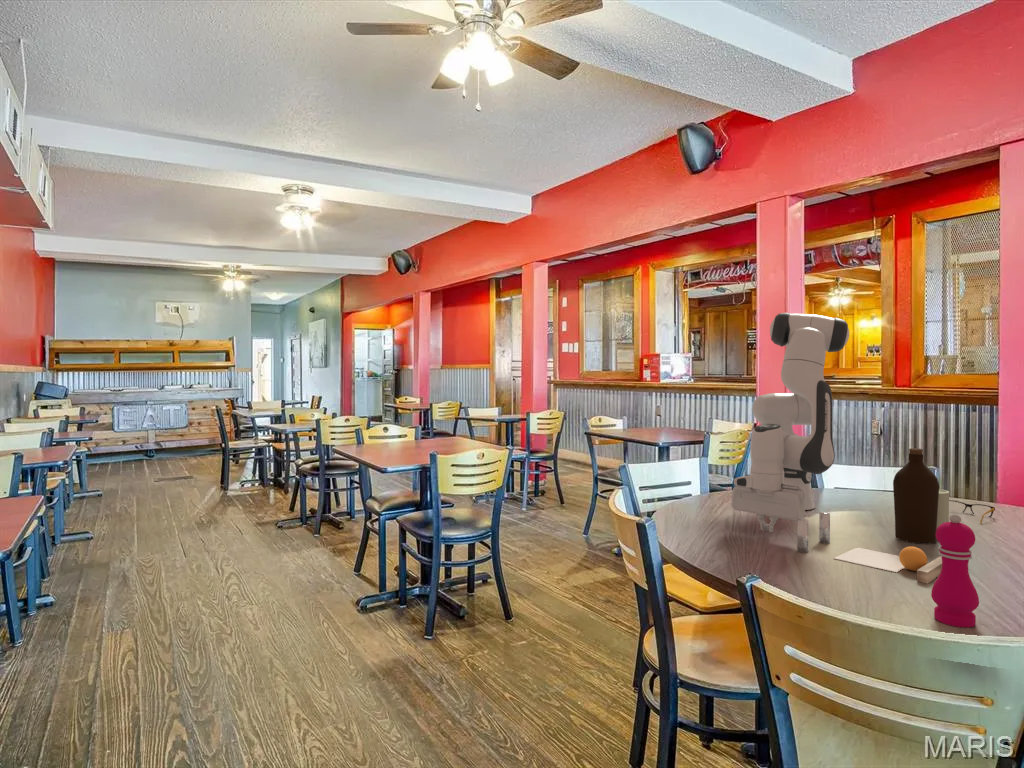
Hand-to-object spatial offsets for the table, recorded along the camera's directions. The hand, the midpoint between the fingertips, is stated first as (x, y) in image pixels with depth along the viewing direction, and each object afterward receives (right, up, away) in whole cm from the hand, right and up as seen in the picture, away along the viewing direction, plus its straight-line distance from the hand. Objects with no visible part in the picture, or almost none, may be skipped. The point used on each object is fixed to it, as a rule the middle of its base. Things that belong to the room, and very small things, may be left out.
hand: (767, 530), depth 173 cm
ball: (+22, +1, -30) cm, 37 cm away
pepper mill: (+11, -3, -59) cm, 60 cm away
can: (+50, -1, +6) cm, 51 cm away
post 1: (+3, -2, -14) cm, 15 cm away
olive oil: (+39, -2, -4) cm, 40 cm away
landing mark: (+18, -2, -22) cm, 28 cm away
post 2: (+13, -2, -6) cm, 15 cm away
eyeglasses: (+71, -1, +22) cm, 74 cm away
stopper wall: (+26, -2, -32) cm, 41 cm away
